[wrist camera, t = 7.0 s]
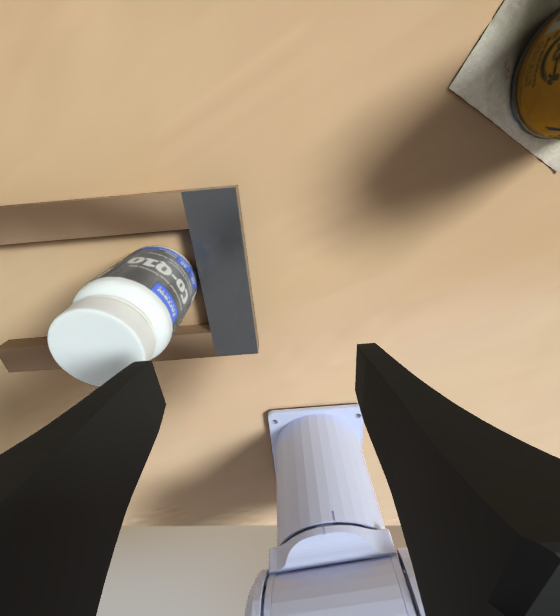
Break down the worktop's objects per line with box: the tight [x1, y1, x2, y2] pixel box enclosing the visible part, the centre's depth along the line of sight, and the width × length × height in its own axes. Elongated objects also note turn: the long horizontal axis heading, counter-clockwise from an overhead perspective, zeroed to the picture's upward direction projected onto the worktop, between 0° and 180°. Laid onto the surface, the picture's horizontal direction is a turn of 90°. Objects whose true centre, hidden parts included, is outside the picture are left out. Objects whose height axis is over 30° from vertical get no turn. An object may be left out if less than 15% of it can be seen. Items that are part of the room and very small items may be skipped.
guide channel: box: [0, 190, 216, 372], centre depth 20 cm, size 11×15×1 cm
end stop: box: [181, 185, 259, 356], centre depth 19 cm, size 11×3×1 cm, turn 5°
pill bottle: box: [47, 245, 198, 386], centre depth 16 cm, size 5×5×8 cm
